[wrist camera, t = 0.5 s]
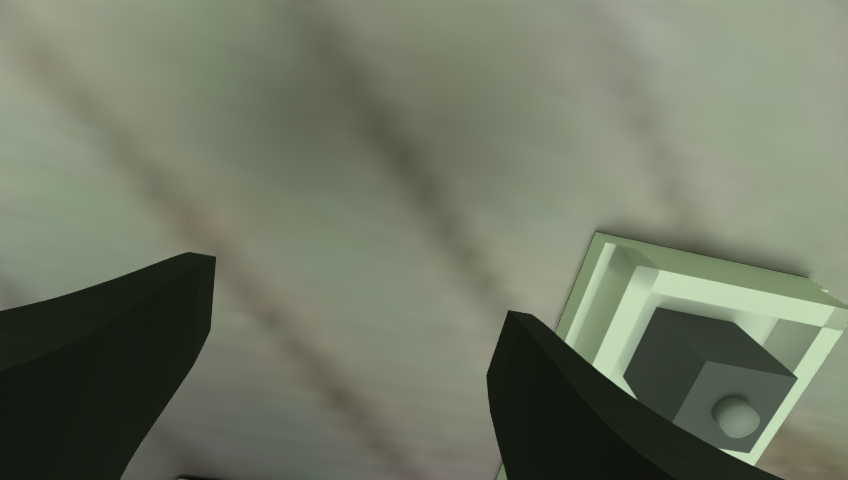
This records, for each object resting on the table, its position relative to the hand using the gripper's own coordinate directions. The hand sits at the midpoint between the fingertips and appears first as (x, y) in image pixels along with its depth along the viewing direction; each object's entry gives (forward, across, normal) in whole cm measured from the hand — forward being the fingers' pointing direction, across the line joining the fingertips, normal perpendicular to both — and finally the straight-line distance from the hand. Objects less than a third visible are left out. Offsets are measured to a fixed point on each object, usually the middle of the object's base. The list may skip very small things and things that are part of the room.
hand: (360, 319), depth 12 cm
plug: (+9, -15, +4) cm, 18 cm away
